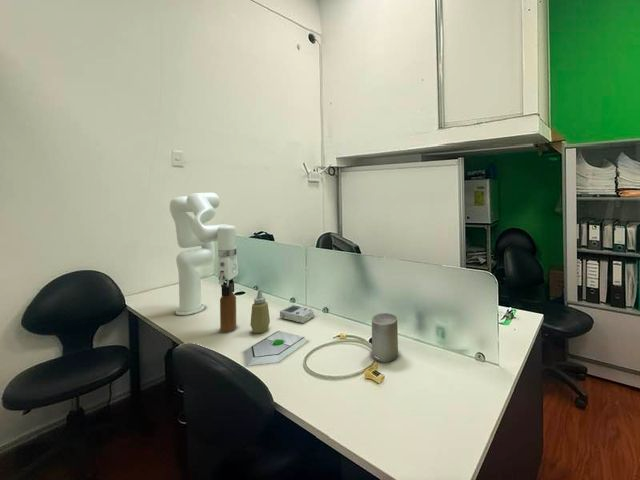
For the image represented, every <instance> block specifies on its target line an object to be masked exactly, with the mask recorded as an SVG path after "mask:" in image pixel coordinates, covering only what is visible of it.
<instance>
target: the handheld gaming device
mask: <svg viewBox="0 0 640 480" xmlns="http://www.w3.org/2000/svg"><path fill="white" fill-rule="evenodd" d="M314 316H315V312H314V310H313V309H311V308H308V307H304V306H300V305H295V304H291V305H289V306H288V307H285V308H283V309H281V310H279V317H280V318H281V319H285V320H289V321H294V322H297V323H301V324H303V323H306V322H307V321H309V320H311V319H313V317H314Z"/></svg>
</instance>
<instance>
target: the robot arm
mask: <svg viewBox="0 0 640 480" xmlns="http://www.w3.org/2000/svg"><path fill="white" fill-rule="evenodd" d="M220 203H221V200H220V196H219V195H218V194H217V193H215V192H193V193H190V194H188V195H185V196H184V195H183V196H181V195H180V196H176V197H173V198H172V199H171V200H170V202H169V212H170V215H171V217H172V219H173V222H174V225H175V232H176V240H177V244H178V247H179V248H181V249H188V250H184V251H181V252H179V253H178V254H177V255H176V257H175V261H176V266H177V271H178V299H179V301H178V305H179V308H177V309H176V310H175V315H178V316H188V315H193V314H197V313H199V312H202V311H203V310H205V304H204V303H202V281H201V280H202V277H201V274H200V273H199V271H198V270H197V269H196V268H199V267H205V266H209V265H212V264H213V263H214V262H215V261H216V260H215V259H216V252H215V245H214V242H217V259H218V262H217V263H218V264H217V279H218V284H219V285H220V288H221V297H222V296H229V295H230V287H229V283H233V292H232V293H234V292H235V278H236V277H237V276H238V275H239V263H238V257H237V255H238V254H237V253H238V251H237V249H238V248H237V247H238V246H237V228H236V226H235V225H229V224H227V223H222V224H209V225H203V224H206V223H208V222H209V221H211V220H212V219H214V217H215V215H216V210H215V209H218V207H219V206H220ZM189 213H192V214H193V215H194V217H192V216H191V215H190V214H189ZM196 247H201V248H196ZM189 248H190V249H189ZM191 248H193V249H191Z"/></svg>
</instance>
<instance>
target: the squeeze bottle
mask: <svg viewBox="0 0 640 480" xmlns="http://www.w3.org/2000/svg"><path fill="white" fill-rule="evenodd" d="M270 323H271V319H270V310H269V302H268V301H267V300H266V297H265V296H264V295H263V291H262V289H258V290H257V295H256V297H255V298H254V299H253V304H252V305H251V313H250V324H249V325H250V328H251V330H252V332H253V333H254V334H261V333H266V331H268V329H269V326H270Z"/></svg>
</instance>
